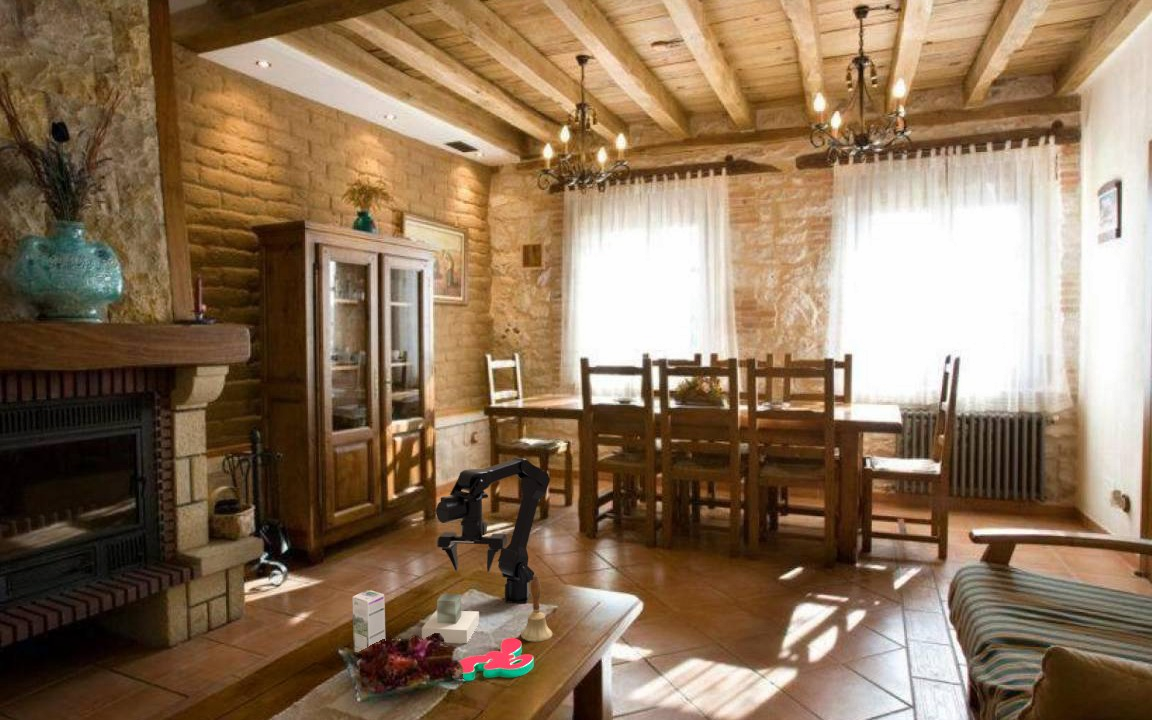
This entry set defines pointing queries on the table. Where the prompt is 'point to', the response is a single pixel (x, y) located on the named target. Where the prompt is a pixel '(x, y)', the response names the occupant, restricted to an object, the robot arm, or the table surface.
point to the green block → (449, 608)
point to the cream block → (453, 627)
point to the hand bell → (536, 618)
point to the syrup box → (368, 619)
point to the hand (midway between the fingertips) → (472, 570)
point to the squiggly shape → (499, 662)
